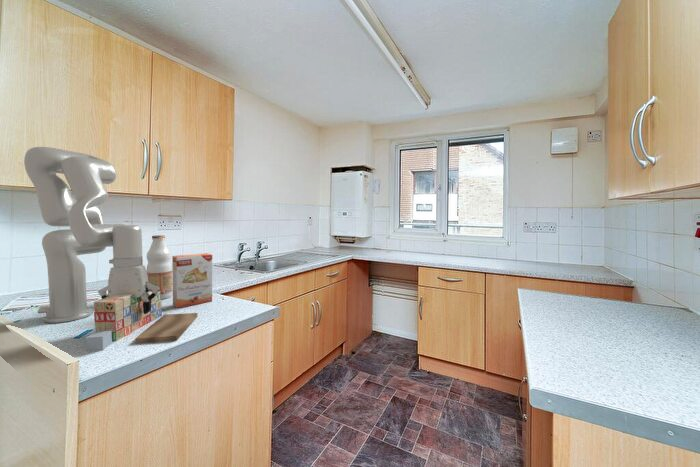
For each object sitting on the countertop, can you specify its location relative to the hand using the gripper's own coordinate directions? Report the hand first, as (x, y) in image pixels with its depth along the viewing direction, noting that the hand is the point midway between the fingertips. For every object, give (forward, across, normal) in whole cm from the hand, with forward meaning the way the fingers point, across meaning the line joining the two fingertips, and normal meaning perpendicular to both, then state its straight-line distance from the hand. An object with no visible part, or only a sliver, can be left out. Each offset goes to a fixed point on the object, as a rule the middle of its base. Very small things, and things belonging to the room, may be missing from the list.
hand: (130, 313), depth 94 cm
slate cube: (+5, -1, -14) cm, 15 cm away
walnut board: (+5, +13, -3) cm, 14 cm away
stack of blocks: (+5, 0, +1) cm, 5 cm away
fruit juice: (+5, -5, +35) cm, 36 cm away
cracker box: (+5, +12, +24) cm, 27 cm away
